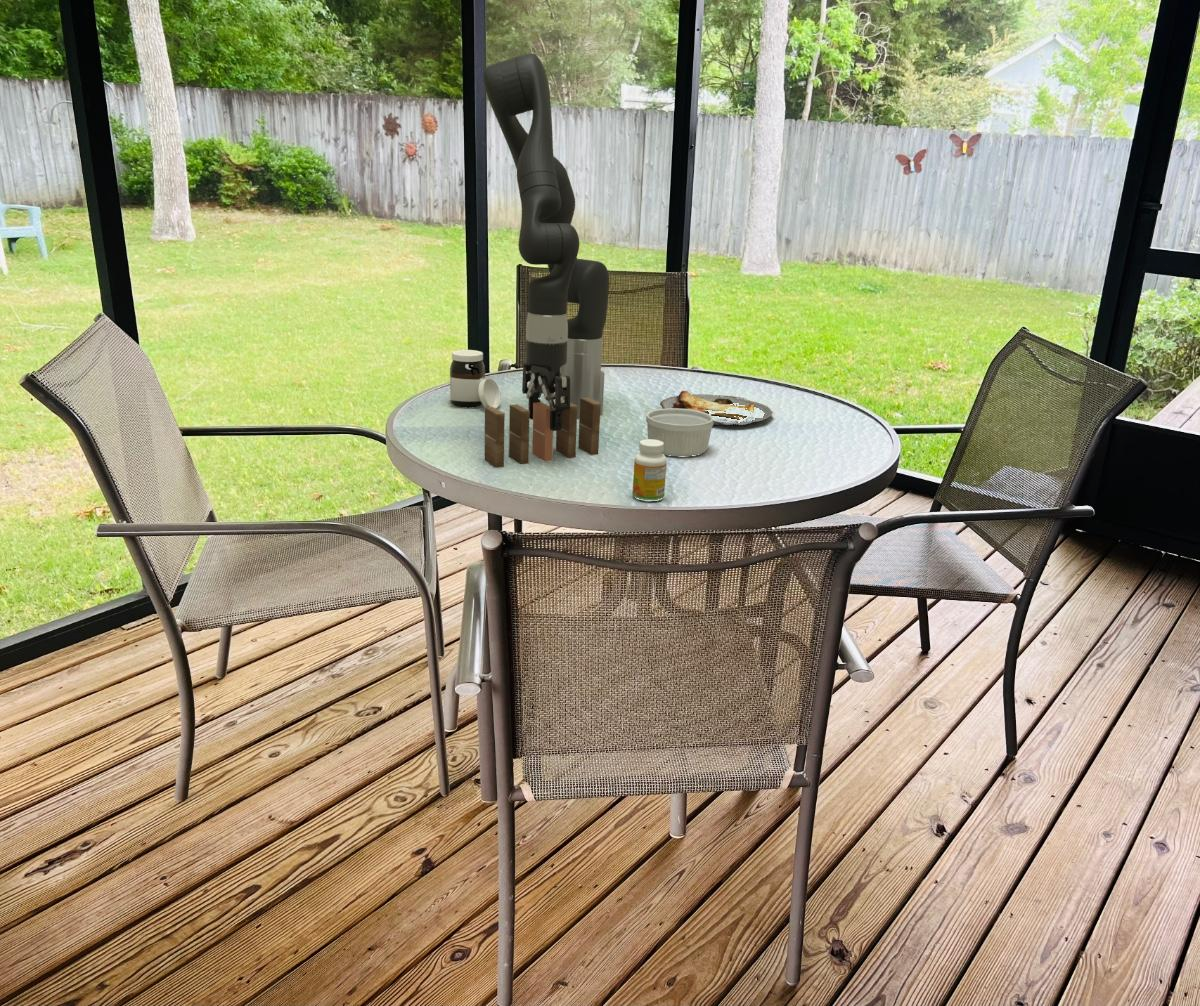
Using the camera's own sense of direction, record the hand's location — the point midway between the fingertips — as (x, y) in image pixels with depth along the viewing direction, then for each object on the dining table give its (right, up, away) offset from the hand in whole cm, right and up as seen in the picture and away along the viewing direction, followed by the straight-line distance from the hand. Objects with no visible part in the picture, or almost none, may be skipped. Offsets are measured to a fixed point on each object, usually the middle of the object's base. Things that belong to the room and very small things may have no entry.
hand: (544, 424), depth 177 cm
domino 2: (-5, -7, 0) cm, 8 cm away
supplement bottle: (+18, -14, -16) cm, 28 cm away
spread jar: (-18, +7, +36) cm, 41 cm away
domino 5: (+8, -5, +7) cm, 12 cm away
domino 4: (+4, -5, +5) cm, 8 cm away
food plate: (+36, +5, +38) cm, 53 cm away
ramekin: (+26, -4, +11) cm, 28 cm away
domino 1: (-9, -7, -3) cm, 12 cm away
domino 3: (-1, -6, +2) cm, 6 cm away
